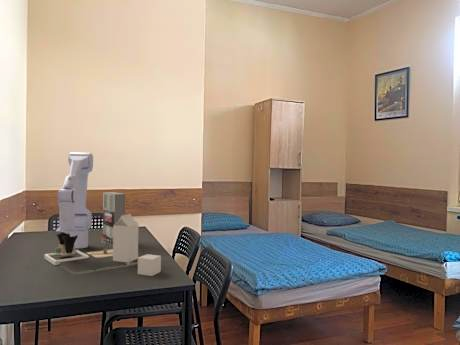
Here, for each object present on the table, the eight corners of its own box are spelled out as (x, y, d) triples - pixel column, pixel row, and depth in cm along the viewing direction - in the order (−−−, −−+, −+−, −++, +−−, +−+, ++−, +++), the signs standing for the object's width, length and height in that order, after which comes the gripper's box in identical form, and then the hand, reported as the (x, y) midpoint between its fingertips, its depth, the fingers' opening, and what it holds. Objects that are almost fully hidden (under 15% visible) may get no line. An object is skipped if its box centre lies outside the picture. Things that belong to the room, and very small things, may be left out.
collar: (70, 251, 160) (70, 243, 160) (75, 253, 156) (75, 245, 156) (53, 253, 155) (53, 245, 155) (57, 256, 151) (57, 247, 151)
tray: (44, 258, 157) (44, 254, 157) (77, 254, 166) (77, 249, 166) (54, 265, 147) (54, 260, 147) (88, 260, 156) (89, 255, 156)
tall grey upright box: (100, 242, 189) (101, 192, 189) (112, 241, 193) (113, 192, 193) (112, 247, 179) (113, 194, 178) (125, 246, 183) (125, 194, 182)
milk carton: (138, 260, 156) (138, 214, 156) (128, 265, 150) (128, 216, 149) (123, 259, 159) (123, 213, 158) (112, 263, 152) (113, 215, 151)
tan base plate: (85, 254, 164) (86, 241, 164) (112, 251, 172) (112, 238, 172) (97, 260, 156) (97, 246, 155) (124, 256, 163) (124, 243, 163)
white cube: (152, 276, 136) (152, 259, 136) (137, 274, 138) (137, 257, 138) (160, 271, 142) (161, 255, 141) (146, 270, 144) (147, 254, 144)
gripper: (51, 216, 159) (50, 249, 159) (62, 221, 148) (62, 256, 148) (68, 215, 163) (68, 247, 164) (81, 219, 153) (80, 253, 153)
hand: (66, 251), depth 156 cm, fingers closed on collar, 5 cm apart
